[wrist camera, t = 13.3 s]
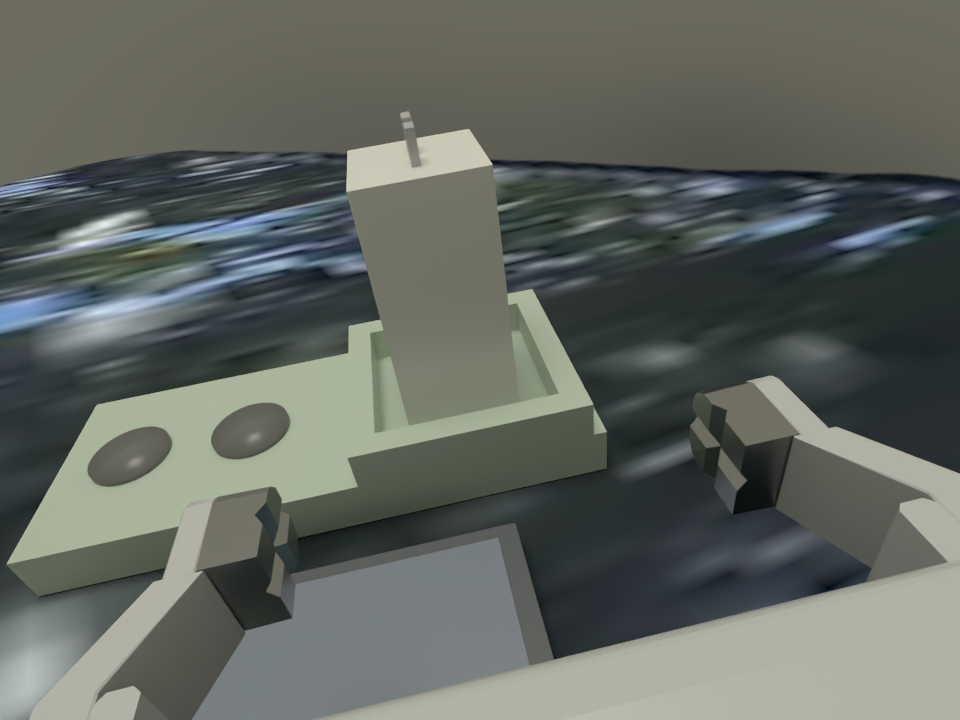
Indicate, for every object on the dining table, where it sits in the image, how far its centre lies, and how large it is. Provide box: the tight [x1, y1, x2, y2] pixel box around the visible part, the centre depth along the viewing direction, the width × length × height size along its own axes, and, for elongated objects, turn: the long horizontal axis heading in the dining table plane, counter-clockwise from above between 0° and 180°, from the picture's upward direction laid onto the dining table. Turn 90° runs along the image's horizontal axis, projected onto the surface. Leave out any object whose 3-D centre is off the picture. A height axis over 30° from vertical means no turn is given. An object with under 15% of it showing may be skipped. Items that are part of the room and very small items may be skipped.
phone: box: [192, 523, 554, 720], centre depth 18 cm, size 13×6×1 cm, turn 100°
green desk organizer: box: [6, 289, 607, 597], centre depth 25 cm, size 22×9×4 cm, turn 100°
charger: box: [346, 112, 519, 426], centre depth 22 cm, size 4×4×11 cm
